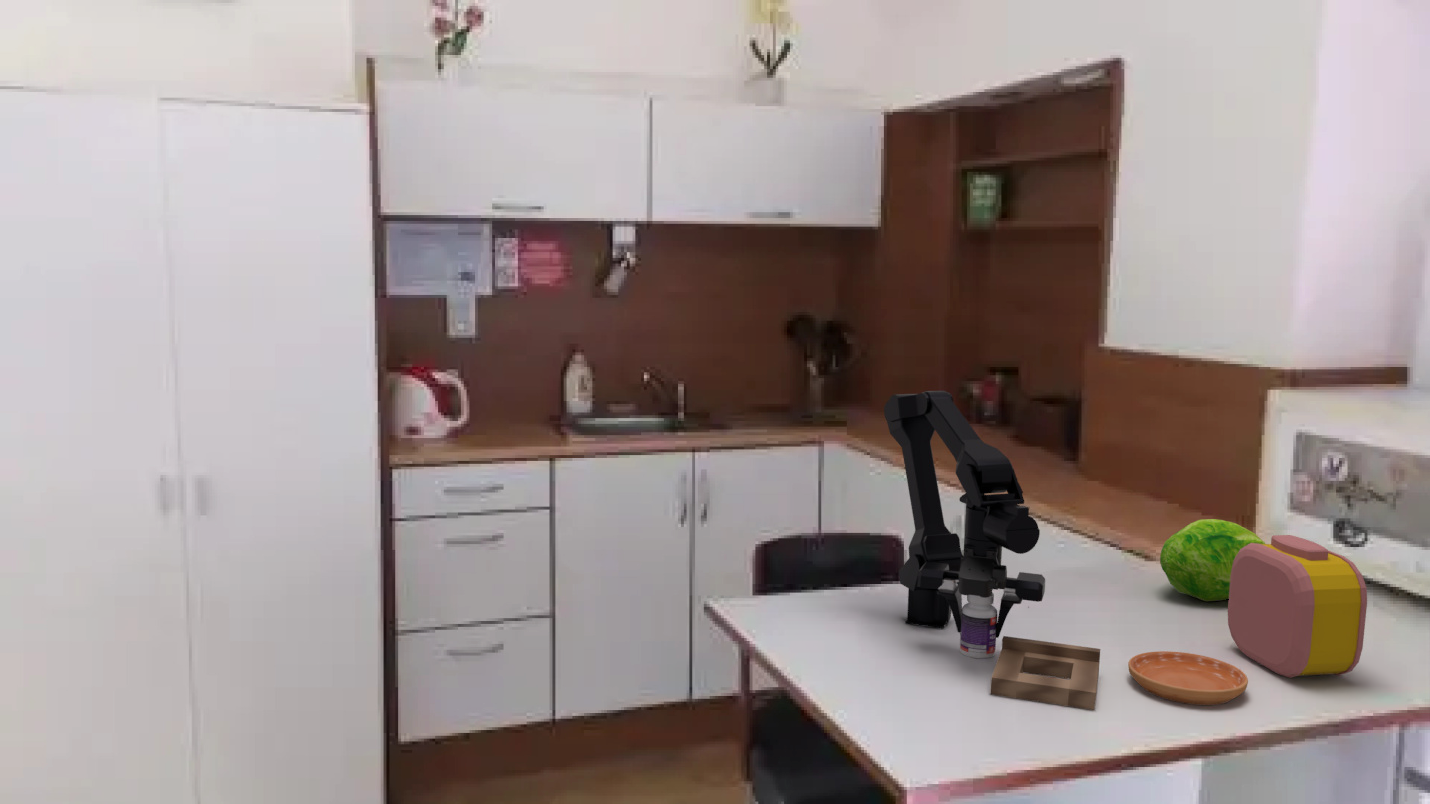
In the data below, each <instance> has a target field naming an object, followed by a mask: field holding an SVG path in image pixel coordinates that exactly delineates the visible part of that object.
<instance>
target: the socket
mask: <svg viewBox="0 0 1430 804" xmlns="http://www.w3.org/2000/svg"><path fill="white" fill-rule="evenodd" d="M1100 659H1101V649H1100V648H1095V647H1088V646H1082V645H1081V646H1080V645H1074V644H1066V643H1058V642H1049V641H1046V640H1045V641H1044V640H1038V639H1037V640H1036V639H1029V638H1022V637H1021V638H1020V637H1015V636H1014V637H1013V636H1005V635H1003V637H1002V641H1001V650H1000V652H999V655H998V658H997V661H996V663H995V666H994V668H993V669H994V670H993V672H992V673H991V674H992V675H991V678H990V695H993V696H1000V697H1005V698H1010V699H1011V698H1012V699H1018V700H1025V701H1030V702H1031V701H1033V702H1037V701H1038V702H1037V703H1045V704H1051V705H1057V704H1060V705H1059V706H1064V707H1071V708H1078V709H1085V710H1090V711H1096V710H1095V709H1096V701H1097V692H1098V684H1099V674H1100Z"/></svg>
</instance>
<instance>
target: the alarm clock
mask: <svg viewBox="0 0 1430 804" xmlns="http://www.w3.org/2000/svg"><path fill="white" fill-rule="evenodd" d="M1270 540H1271V541H1270V543H1268V544H1267V543H1265V544H1257V543H1250V544H1248V545H1247V546H1245V547H1243V548H1242V549H1240V551H1239V552H1238V554H1237V555H1236V557H1235V559H1234V561H1233V565H1232V570H1231V577H1230V589H1229V600H1228V601H1227V602H1228V603H1227V625H1228V629H1229V632H1230V636H1231V638H1232V640H1233V643H1235V646H1236V647H1237V649H1239V650H1240V652H1242V653H1243V654H1244V655H1245V656H1246V657H1248V658H1250V659H1251V660H1253V661H1254V662H1256V663H1258V664H1260V665H1261V666H1263V667H1265V668H1267V669H1269V670H1270V671H1272V672H1273V673H1276V674H1278V675H1280V676H1283V677H1286V678H1290V679H1293V678H1294V677H1297V676H1299V677H1301V676H1314V675H1315V676H1316V675H1319V676H1320V675H1334V676H1341V675H1345V674H1347V673H1351V672H1352V671H1353V670H1354V669H1355V668H1356V666H1357V665H1358V664H1359V662H1360V660H1361V656H1362V651H1363V647H1364V638H1365V628H1366V618H1367V607H1368V591H1367V590H1368V589H1367V585H1366V582H1365V579H1364V575H1362V572H1361V571H1360V570H1359V569H1358V567H1357V566H1356V565H1355V563H1354V562H1353V561H1352V560H1350V559H1348V557H1347V558H1346V557H1345V556H1343V555H1341V554H1339V553H1336V552H1333V551H1331V550H1329V549H1327V548H1326V547H1325V546H1323V545H1321V544H1319V543H1316V542H1314V541H1312V540H1309V539H1307V538H1306V539H1305V538H1302V537H1300V536H1295V535H1292V534H1291V535H1290V534H1280V535H1279V534H1275V535H1271V537H1270Z"/></svg>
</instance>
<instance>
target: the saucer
mask: <svg viewBox="0 0 1430 804" xmlns="http://www.w3.org/2000/svg"><path fill="white" fill-rule="evenodd" d="M1127 664H1128V665H1127V667H1128V671H1129V674H1130V676H1131V677H1132V678H1133V680H1135V682H1137V684H1139V686H1140V687H1141V688H1142V689H1144V691H1147V692H1148V693H1150V694H1152V695H1155V696H1156V697H1160V698H1162V699H1165V700H1168V701H1172V702H1177V703H1181V704H1187V705H1197V706H1215V705H1221V704H1226V703H1228V702H1230V701H1232V700H1233V699H1234V698H1237V697H1239V696H1240V695H1241V694H1242V693H1244V692H1245V691H1246V689H1247V688H1248V684H1249V678H1248V677H1247V675H1246V673H1245V672H1244V671H1242V670H1241V668H1240V669H1239V668H1238V667H1236V666H1234V665H1232V664H1230V663H1227V662H1226V661H1223V660H1220V659H1216V658H1213V657H1209V656H1205V655H1202V654H1201V655H1200V654H1196V653H1190V652H1182V651H1168V650H1167V651H1164V650H1163V651H1161V650H1159V651H1150V652H1142V653H1139V654H1136V655H1134V656H1132V657H1131V658H1130V659H1129V661H1128V662H1127Z"/></svg>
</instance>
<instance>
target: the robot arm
mask: <svg viewBox="0 0 1430 804" xmlns="http://www.w3.org/2000/svg"><path fill="white" fill-rule="evenodd" d="M883 407H884V408H883V414H884V418H885V420H886V423H887V427H888V432H889V434H890V435H891V436H892V437H893V439H894V440H895V441H896V443H897V444H898V445H899V446H900V448H901V451H902V457H903V458H902V459H903V463H904V469H905V475H906V476H905V477H906V481H907V482H906V483H907V487H908V493H909V500H910V507H911V513H912V517H913V525H914V533H913V535H912V537H911V540H910V543H909V544H908V556H909V557H908V558H907V559H906V562H905V563H903V566H902V567H901V568H900V569H899V571H898V576H899V583H900V585H902V586H904V587H905V588H907V589H908V593H907V594H908V596H907V616H906V618H905V619H904V623H905V624H906V625H907V624H908V625H913V626H922V627H929V628H934V629H935V628H937V629H944V628H945V627H946V625H947V623H948V622H949V621H950V620H951V618H952V616H953V620H954V623H955V626H956V630H957V633H959V634H961V619H962V607H963V599H962V597H963V596H967V595H975V596H980V597H983V598H987V597H990V596H991V594H992V593H993V590H996V591H997V590H1003V594H1002V596H1001V599H1000V606H999V610H998V615H997V626H996V639H998V638H999V637H1000V634H1001V633H1002V630H1003V626H1004V624H1005V621H1006V619H1007V617H1008V614H1009V612H1010V611H1011V609H1012V608H1013V606H1014V605H1020V604H1022V602H1023V601H1030V602H1042V601H1043V598H1044V596H1045V592H1046V578H1045V577H1044V576H1043V574H1039V573H1031V572H1024V571H1023V572H1022V571H1019V572H1018V575H1017V577H1016V578H1014V577H1008V569H1007V565H1004V564H1002V557H1003V555H1002V554H1003V548H1004V549H1006V550H1008V551H1011V552H1013V553H1016V554H1019V555H1022V554H1023V555H1024V554H1027V553H1028V552H1030V551H1032V550H1033V549H1034V548H1035V547H1036V545H1037V544H1038V541H1039V538H1040V535H1041V533H1040V531H1041V530H1040V529H1039V525H1038V523H1037V520H1035V519H1034V518H1033V517H1032V516H1030V514H1029V512H1030V510H1029V509H1030V508H1029V507H1028V506H1027V505H1024V504H1025V498H1024V496H1023V494H1024V491H1023V489H1022V487H1021V484H1020V483H1019V480H1018V478H1017V476H1016V473H1015V469H1014V467H1013V464H1012V462H1011V461H1010V459H1009V457H1007V456H1006V455H1005V454H1004V453H1003V452H1002V451H1001V450H1000V449H999V448H997V447H994V446H992V445H990V444H988V443H986V442H984V441H983V440H982V439H981V438H980V436H979V435H978V433H977V432H976V431H975V430H974V428H973V427H972V426H971V424H970V423H969V422H968V420H967V419H966V417H965V416H964V415H963V413H962V412H961V410H960V409H959V408H958V407H957V406H956V404H955V403H954V398H953V396H952V394H951V393H950V392H947V391H946V390H928V391H927V390H926V391H923V392H920V393H904V394H901V393H899V394H892V395H891V396H890V397H889V400H888V401H886V402H885V404H884V406H883ZM935 432H936V434H937V435H938V436H939V438H940V439H941V440H942V442H943V444H944V445H945V446H946V448H947V449H948V451H949V452H950V453H951V454H952V456H953V458H954V459H955V462H956V466H955V476H956V477H957V479H958V481H959V483H960V485H961V487H962V488H963V490H964V491H965V493H963V494H962V495H961V496H960V497H959V502H961V503H963V504H965V513H964V514H965V516H964V518H965V519H964V536H963V537H964V539H963V552H962V549H961V542H960V540H961V539H960V536H959V535H958V534H957V533H956V532H954V533H953V532H951V531H950V529H948V527H947V526H946V524H945V519H944V515H943V509H942V503H941V502H942V501H941V497H940V496H941V495H940V491H939V485H938V478H937V474H936V467H935V462H934V454H933V449H932V445H931V442H932V439H933V436H934V435H935V434H934V433H935ZM1006 492H1007V493H1006Z"/></svg>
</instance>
